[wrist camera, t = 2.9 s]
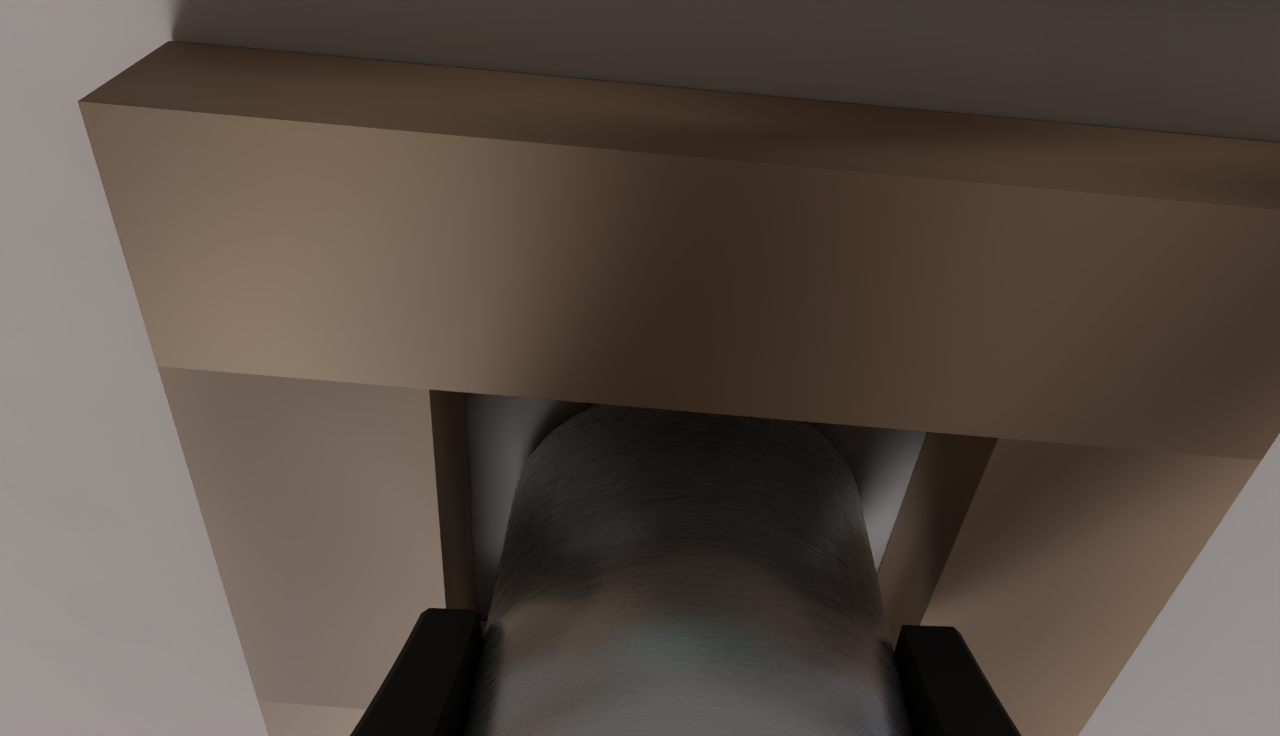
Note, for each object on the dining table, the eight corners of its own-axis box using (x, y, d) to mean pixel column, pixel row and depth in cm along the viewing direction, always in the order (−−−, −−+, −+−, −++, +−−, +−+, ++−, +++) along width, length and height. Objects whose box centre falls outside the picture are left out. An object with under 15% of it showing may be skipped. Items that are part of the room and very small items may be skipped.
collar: (1311, 146, 10) (1418, 222, 8) (971, 758, 17) (997, 855, 16) (168, 41, 10) (77, 100, 8) (321, 707, 17) (288, 801, 16)
